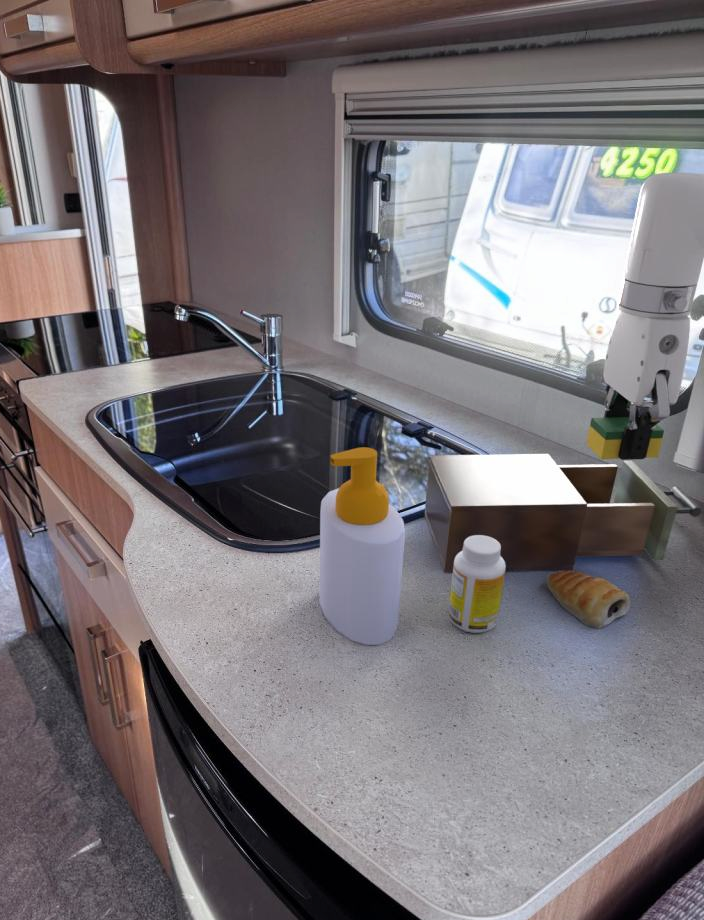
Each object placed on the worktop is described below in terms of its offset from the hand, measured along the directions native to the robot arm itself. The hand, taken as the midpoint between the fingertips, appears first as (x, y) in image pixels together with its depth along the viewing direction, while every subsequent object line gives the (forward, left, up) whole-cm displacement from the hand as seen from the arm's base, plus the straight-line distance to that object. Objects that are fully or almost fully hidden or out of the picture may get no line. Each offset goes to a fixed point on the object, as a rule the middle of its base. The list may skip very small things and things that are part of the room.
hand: (622, 447), depth 88 cm
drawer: (-2, -3, -14) cm, 15 cm away
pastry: (+6, +12, -15) cm, 20 cm away
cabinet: (+13, -3, -15) cm, 20 cm away
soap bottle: (+33, +12, -15) cm, 38 cm away
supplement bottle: (+20, +14, -15) cm, 29 cm away
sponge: (0, 0, 0) cm, 0 cm away
